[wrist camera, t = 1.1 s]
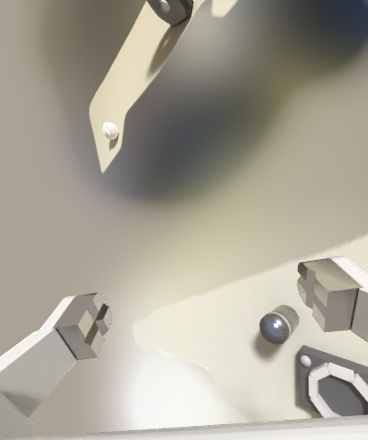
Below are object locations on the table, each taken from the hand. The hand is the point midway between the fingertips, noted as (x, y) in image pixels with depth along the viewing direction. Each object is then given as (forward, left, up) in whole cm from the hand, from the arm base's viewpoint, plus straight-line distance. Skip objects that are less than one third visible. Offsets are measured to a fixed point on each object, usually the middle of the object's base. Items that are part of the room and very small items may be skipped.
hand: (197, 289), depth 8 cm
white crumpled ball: (+87, -55, -41) cm, 111 cm away
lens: (+7, +13, -41) cm, 43 cm away
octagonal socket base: (-2, +22, -41) cm, 46 cm away
